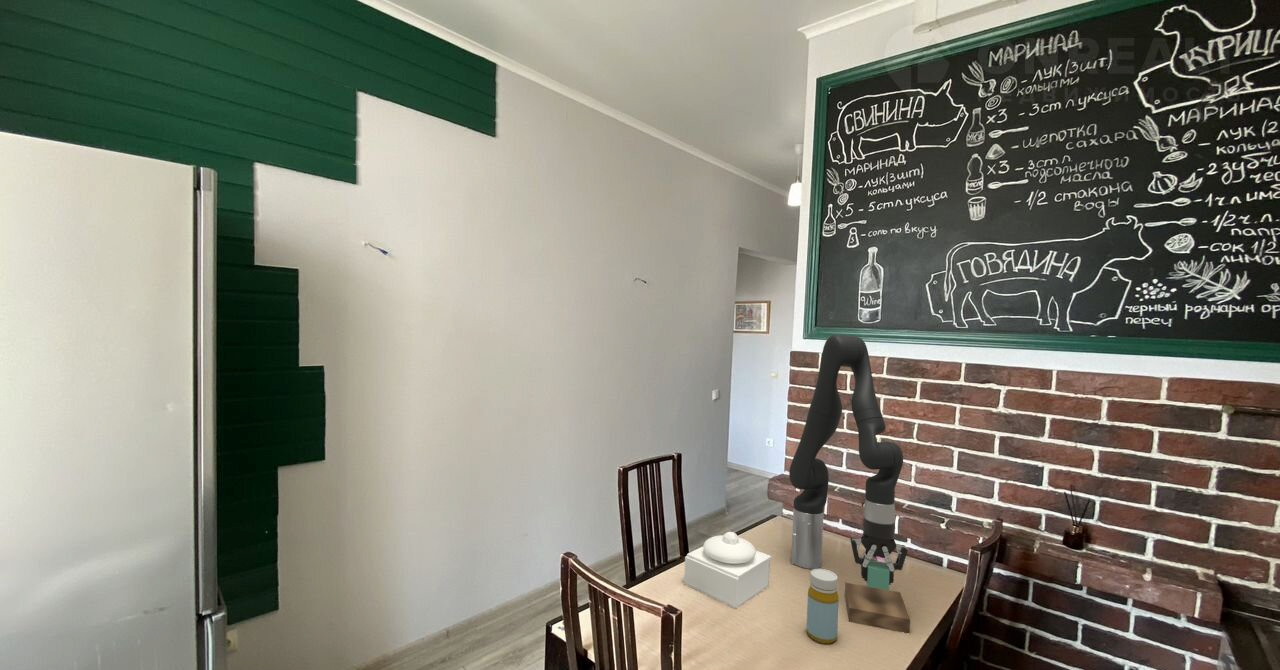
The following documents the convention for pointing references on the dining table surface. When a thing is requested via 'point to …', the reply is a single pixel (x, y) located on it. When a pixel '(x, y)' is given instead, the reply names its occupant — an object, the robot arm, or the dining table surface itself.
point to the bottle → (822, 606)
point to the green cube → (878, 575)
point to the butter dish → (727, 569)
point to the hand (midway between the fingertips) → (877, 581)
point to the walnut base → (876, 608)
